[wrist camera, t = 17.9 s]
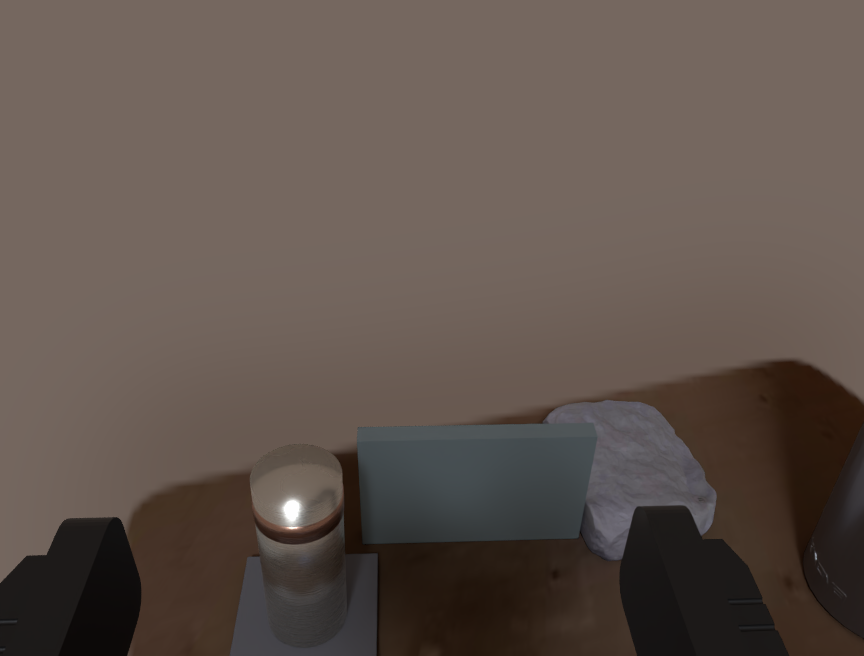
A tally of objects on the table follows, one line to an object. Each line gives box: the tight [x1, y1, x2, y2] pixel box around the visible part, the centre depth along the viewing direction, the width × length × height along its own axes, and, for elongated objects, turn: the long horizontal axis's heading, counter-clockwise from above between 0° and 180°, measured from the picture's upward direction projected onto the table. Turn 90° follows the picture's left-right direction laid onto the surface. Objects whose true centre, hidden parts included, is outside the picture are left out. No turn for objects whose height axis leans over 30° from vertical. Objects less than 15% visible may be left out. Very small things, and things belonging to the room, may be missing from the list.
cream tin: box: [250, 444, 347, 648], centre depth 41 cm, size 5×5×11 cm
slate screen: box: [357, 423, 598, 544], centre depth 48 cm, size 14×1×9 cm, turn 93°
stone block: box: [543, 400, 717, 561], centre depth 53 cm, size 12×5×10 cm
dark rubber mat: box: [230, 553, 378, 656], centre depth 45 cm, size 8×8×1 cm
